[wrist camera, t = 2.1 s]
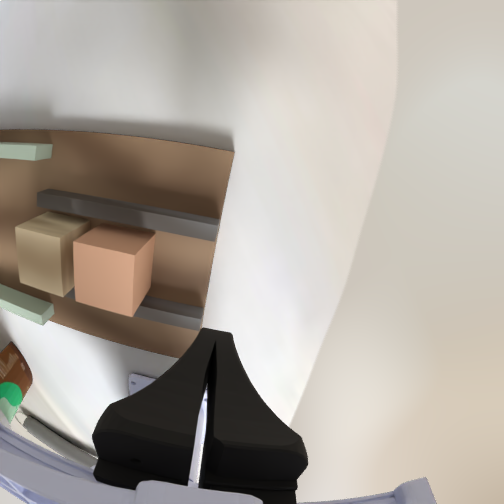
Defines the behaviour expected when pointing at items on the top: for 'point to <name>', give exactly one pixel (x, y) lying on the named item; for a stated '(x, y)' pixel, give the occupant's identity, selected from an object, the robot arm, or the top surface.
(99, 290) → the terracotta block
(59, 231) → the birch block
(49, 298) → the groove board
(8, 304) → the tray
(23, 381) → the food container
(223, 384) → the robot arm
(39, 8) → the top surface
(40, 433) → the kitchen whisk
